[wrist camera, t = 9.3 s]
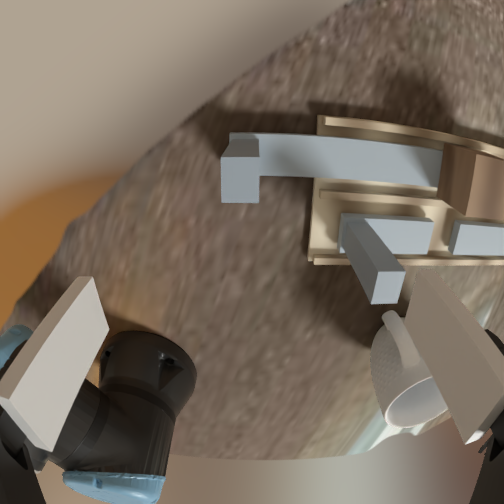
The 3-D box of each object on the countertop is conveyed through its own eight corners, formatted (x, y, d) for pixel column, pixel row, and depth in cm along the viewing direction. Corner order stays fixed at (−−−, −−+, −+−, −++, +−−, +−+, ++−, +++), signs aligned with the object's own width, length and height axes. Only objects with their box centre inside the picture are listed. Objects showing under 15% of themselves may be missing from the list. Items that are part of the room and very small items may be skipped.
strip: (230, 172, 31) (217, 209, 21) (230, 132, 29) (215, 149, 19) (481, 191, 31) (541, 228, 20) (486, 159, 29) (551, 189, 19)
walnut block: (436, 196, 30) (465, 216, 25) (443, 142, 27) (476, 154, 22) (475, 201, 30) (505, 220, 25) (483, 151, 27) (516, 164, 22)
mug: (338, 309, 40) (363, 386, 28) (413, 269, 37) (460, 335, 25) (372, 370, 45) (393, 438, 34) (433, 339, 43) (466, 401, 31)
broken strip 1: (336, 247, 34) (366, 309, 24) (341, 212, 33) (376, 265, 22) (422, 248, 34) (469, 303, 24) (429, 217, 33) (483, 265, 22)
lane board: (307, 257, 36) (309, 265, 35) (317, 114, 29) (320, 115, 28) (514, 259, 36) (521, 265, 34) (538, 159, 29) (546, 162, 27)
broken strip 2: (447, 249, 34) (452, 254, 33) (454, 219, 32) (460, 224, 31) (519, 251, 34) (524, 255, 33) (526, 226, 32) (532, 230, 31)
